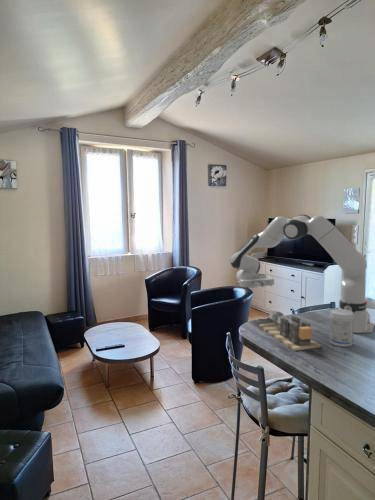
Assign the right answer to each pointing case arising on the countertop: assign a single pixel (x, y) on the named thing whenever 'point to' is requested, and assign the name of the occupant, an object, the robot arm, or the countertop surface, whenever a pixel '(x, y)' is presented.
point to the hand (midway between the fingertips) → (262, 284)
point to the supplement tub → (341, 327)
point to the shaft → (277, 315)
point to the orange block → (305, 332)
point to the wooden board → (290, 334)
